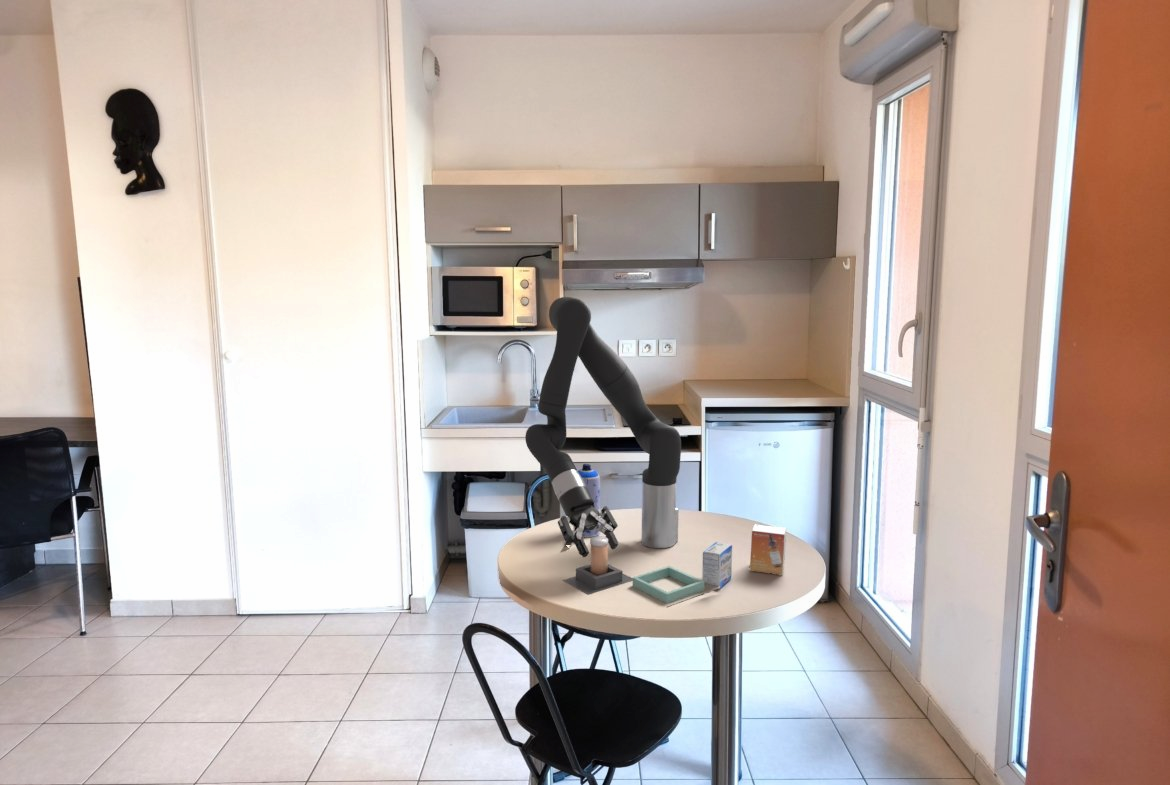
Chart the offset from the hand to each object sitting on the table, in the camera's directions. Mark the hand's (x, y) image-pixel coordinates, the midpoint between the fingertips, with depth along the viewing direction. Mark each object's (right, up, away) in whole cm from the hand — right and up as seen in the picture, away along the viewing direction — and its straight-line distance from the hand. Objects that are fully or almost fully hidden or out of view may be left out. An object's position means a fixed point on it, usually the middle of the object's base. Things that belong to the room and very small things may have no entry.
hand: (601, 551), depth 169 cm
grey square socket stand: (-1, -8, +2) cm, 8 cm away
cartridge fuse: (-1, -7, +2) cm, 7 cm away
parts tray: (+15, -9, -2) cm, 18 cm away
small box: (+41, -7, +11) cm, 44 cm away
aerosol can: (-3, -3, +37) cm, 37 cm away
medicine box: (+27, -8, +3) cm, 29 cm away
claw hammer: (-9, -6, +20) cm, 23 cm away
